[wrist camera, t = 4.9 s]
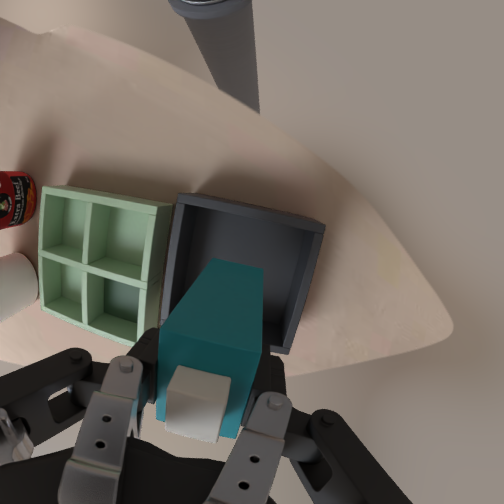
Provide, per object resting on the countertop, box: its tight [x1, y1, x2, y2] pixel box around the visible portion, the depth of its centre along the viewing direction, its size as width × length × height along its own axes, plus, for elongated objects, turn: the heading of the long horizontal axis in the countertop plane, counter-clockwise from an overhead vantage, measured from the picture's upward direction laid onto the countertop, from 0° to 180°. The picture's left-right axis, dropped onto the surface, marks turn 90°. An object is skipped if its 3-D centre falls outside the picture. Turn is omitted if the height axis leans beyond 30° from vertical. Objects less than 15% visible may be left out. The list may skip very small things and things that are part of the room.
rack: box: [38, 185, 173, 347], centre depth 28 cm, size 15×15×5 cm
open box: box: [160, 193, 326, 355], centre depth 27 cm, size 13×13×6 cm
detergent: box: [156, 258, 263, 443], centre depth 14 cm, size 5×4×12 cm
